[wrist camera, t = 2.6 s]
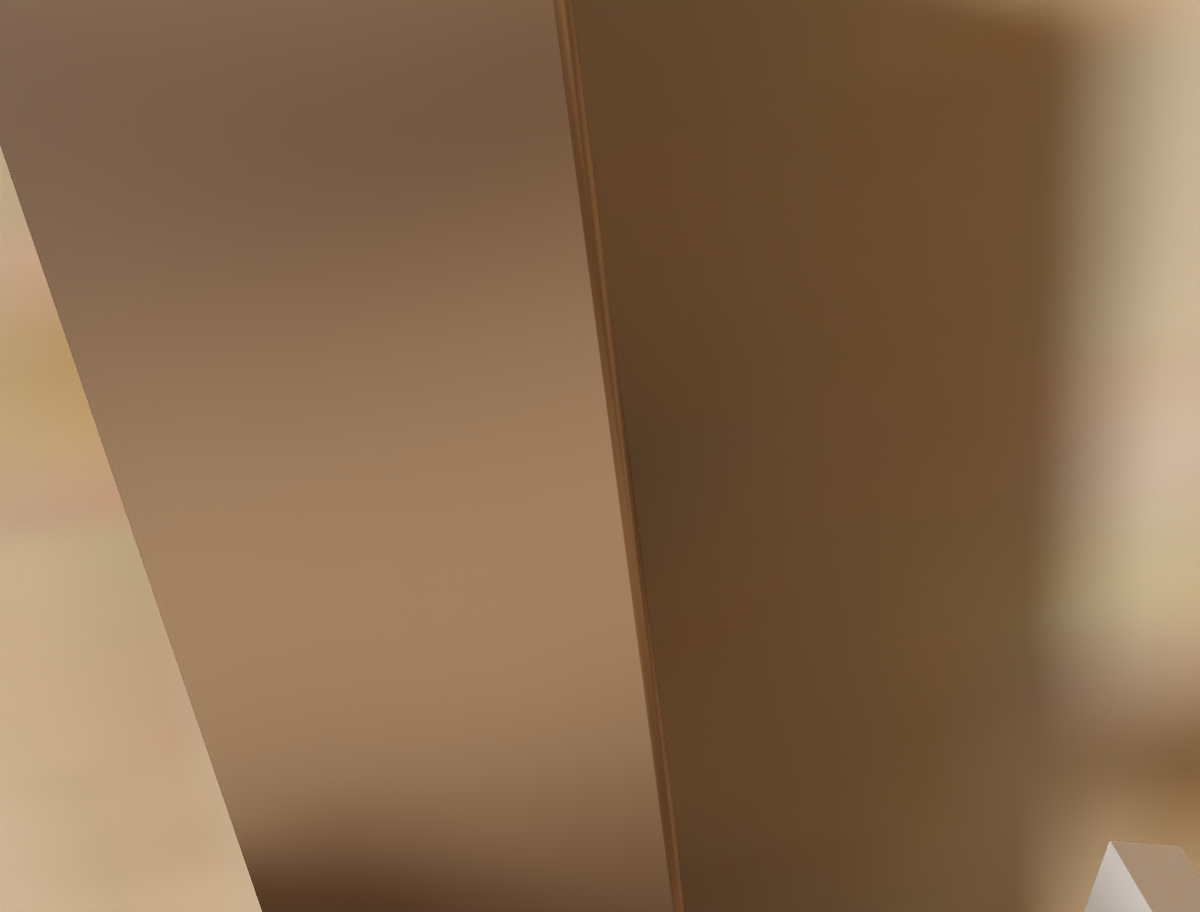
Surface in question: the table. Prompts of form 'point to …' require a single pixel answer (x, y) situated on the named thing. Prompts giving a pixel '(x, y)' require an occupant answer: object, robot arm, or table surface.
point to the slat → (363, 430)
